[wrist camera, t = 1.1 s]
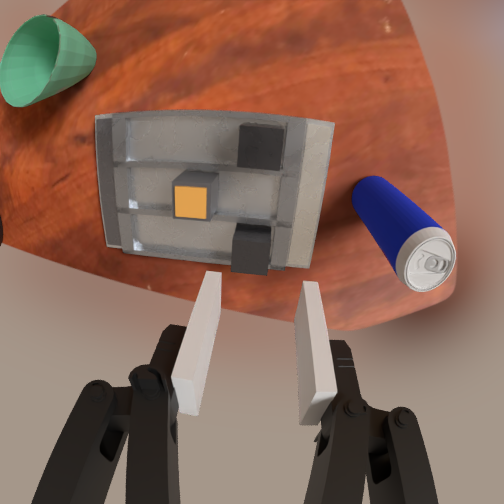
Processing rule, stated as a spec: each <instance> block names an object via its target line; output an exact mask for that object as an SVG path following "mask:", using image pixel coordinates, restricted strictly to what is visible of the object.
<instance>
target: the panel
mask: <svg viewBox="0 0 504 504" xmlns="http://www.w3.org/2000/svg"><path fill="white" fill-rule="evenodd" d="M334 125H335V123H333V122H329V121H323V120H317V119H310V118H304V117H296V116H288V115H280V114H270V113H260V112H247V111H231V110H200V109H177V110H147V111H132V112H119V113H109V114H101V115H95V137H96V158H97V173H98V184H99V194H100V203H101V211H102V218H103V225H104V232H105V238H106V244H107V247H113V248H122V250H123V253H128V254H136V255H145V256H153V257H162V258H170V259H179V260H188V261H197V262H206V263H215V264H225V265H231V272H237V273H246V274H256V275H266V276H267V272H268V269H273V270H283V271H285V266H289V267H299V268H309V267H310V262H311V258H312V253H313V248H314V243H315V238H316V233H317V228H318V223H319V218H320V212H321V207H322V201H323V196H324V190H325V184H326V178H327V172H328V166H329V159H330V153H331V146H332V139H333V132H334ZM183 171H190V172H208V173H219V183H218V207H217V209H216V211H215V213H214V215H213V217H212V220H211V222H206V221H194V220H182V219H173V215H172V181H173V180H174V179H175V178H176V177H177V176H179V175H180V174H181V173H182V172H183Z"/></svg>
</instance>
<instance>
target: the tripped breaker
mask: <svg viewBox="0 0 504 504" xmlns="http://www.w3.org/2000/svg"><path fill="white" fill-rule="evenodd" d="M218 183H219V173H208V172H190V171H183V172H182V173H181V174H180V175H179V176H177V177H176V178H175V179H174V180H173V181H172V215H173V219H182V220H194V221H206V222H211V220H212V217H213V215H214V213H215V211H216V209H217V207H218Z"/></svg>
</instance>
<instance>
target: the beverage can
mask: <svg viewBox="0 0 504 504" xmlns="http://www.w3.org/2000/svg"><path fill="white" fill-rule="evenodd" d="M352 204H353V207H354V209H355V211H356V212H357V214H358V215H359V217H360V218H361V220H362V221H363V223H364V224H365V225H366V227H367V228H368V230H369V231H370V233H371V234H372V236H373V238H374V239H375V241H376V242H377V244H378V245H379V247H380V248H381V250H382V252H383V253H384V255H385V256H386V258H387V260H388V261H389V263H390V264H391V266H392V268H393V269H394V271H395V273H396V274H397V276H398V278H399V279H400V281H401V282H402V283H404V284H405V285H407V286H408V287H409V288H411V289H412V290H414V291H418V292H425V291H429V290H432V289H434V288H436V287H438V286H439V285H440V284H442V283H443V282H444V281H445V280H446V279H447V277H448V276H449V275H450V273H451V271H452V269H453V267H454V264H455V259H456V251H455V247H454V245H453V242H452V240H451V237H450V236H449V234H448V233H447V232H446V231H445V230H444V229H443V228H442V227H441V226H440V225H438V224H437V223H436V222H435V221H434V220H433V219H432V218H431V217H430V216H429V215H427V214H426V213H425V212H424V211H423V210H422V209H421V208H419V207H418V206H417V205H416V204H415V203H414V202H412V201H411V200H410V199H409V198H408V197H406V196H405V195H404V194H403V193H402V192H400V191H399V190H398V189H397V188H395V187H394V186H393V185H392V184H390V183H389V182H388V181H386V180H385V179H384V178H382V177H379V176H369V177H366V178H364V179H362V180H361V181H360V182H359V183H358V184H357V185H356V187H355V188H354V190H353V193H352Z"/></svg>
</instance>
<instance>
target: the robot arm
mask: <svg viewBox="0 0 504 504" xmlns="http://www.w3.org/2000/svg"><path fill="white" fill-rule="evenodd" d="M2 238H3V229H2V222H1V217H0V246H1V243H2ZM220 313H221V272H212V271H206V274H205V277H204V280H203V283H202V285H201V288H200V291H199V294H198V297H197V300H196V303H195V306H194V309H193V311H192V314H191V318H190V320H189V323H188V326H187V327H185V326H179V325H172V324H170V325H169V326H168V327H167V328H166V329H165V330H164V331H163V332H162V334H161V337H160V339H159V342H158V344H157V347H156V350H155V352H154V354H153V357H152V359H151V362H150V364H147V365H140V366H138V367H136V368H134V369H133V371H131V372H130V375H129V378H128V379H129V381H130V383H131V386H128V387H112V386H111V385H110V384H109V383H108V382H106V381H104V380H94V381H91V382H89V383H88V384H87V385H86V386H85V387H84V388H83V390H82V392H81V394H80V396H79V398H78V400H77V402H76V404H75V406H74V408H73V410H72V412H71V413H70V415H69V418H68V420H67V422H66V424H65V426H64V428H63V430H62V432H61V434H60V436H59V438H58V440H57V443H56V445H55V447H54V449H53V451H52V454H51V456H50V458H49V460H48V463H47V465H46V468H45V470H44V473H43V475H42V477H41V480H40V482H39V485H38V487H37V490H36V492H35V495H34V498H33V500H32V503H31V504H104V502H105V499H106V496H107V492H108V490H109V486H110V484H111V481H112V478H113V475H114V472H115V469H116V466H117V463H118V461H119V458H120V455H121V452H122V450H123V447H124V444H125V441H126V438H127V436H128V433H129V438H128V451H127V469H126V504H180V490H179V471H178V435H177V418H176V416H177V412H178V408H179V411H180V413H184V414H190V415H195V416H198V414H199V409H200V404H201V400H202V395H203V390H204V385H205V381H206V376H207V372H208V367H209V363H210V358H211V353H212V349H213V344H214V340H215V335H216V331H217V326H218V322H219V318H220ZM294 324H295V340H296V356H297V375H298V395H299V396H298V397H299V424H300V425H318V423H319V422H320V420H321V426H322V427H321V428H322V429H321V430H320V432H319V433H318V435H317V436H316V438H315V440H314V442H317V446H316V451H315V456H314V461H313V466H312V470H311V475H310V480H309V484H308V488H307V493H306V496H305V500H304V504H362V499H363V492H364V484H365V475H366V476H367V482H368V490H369V497H370V504H438V499H437V494H436V489H435V485H434V480H433V476H432V472H431V468H430V464H429V460H428V456H427V452H426V448H425V445H424V441H423V438H422V435H421V431H420V428H419V424H418V422H417V418H416V416H415V415H414V413H413V412H412V411H411V410H410V409H408V408H406V407H397V408H394V409H393V410H392V411H391V412H388V411H383V410H379V409H375V408H372V407H370V406H369V405H368V404H367V402H366V401H365V400H363V399H362V397H361V394H360V389H359V384H358V380H357V376H356V370H355V368H354V362H353V358H352V353H351V349H350V348H349V346H348V345H347V344H346V342H345V341H344V340H329V338H328V332H327V326H326V321H325V316H324V311H323V306H322V301H321V296H320V291H319V286H318V282H311V281H303V284H302V288H301V293H300V297H299V302H298V306H297V310H296V315H295V319H294Z"/></svg>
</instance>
